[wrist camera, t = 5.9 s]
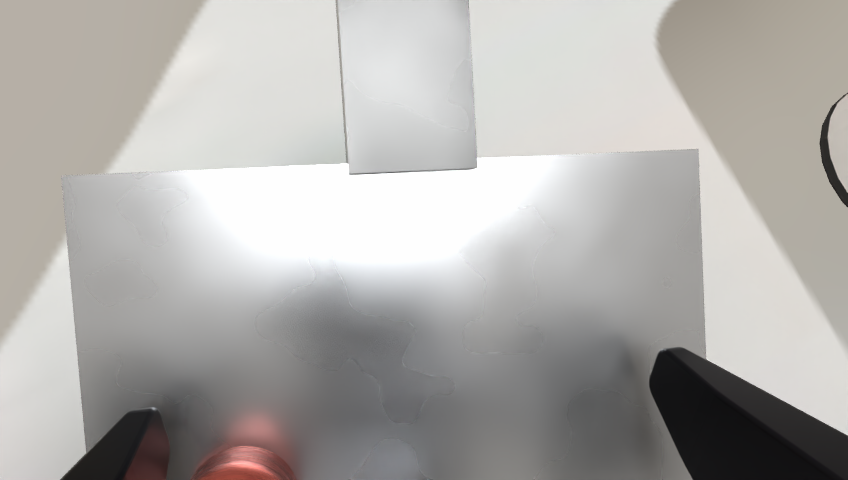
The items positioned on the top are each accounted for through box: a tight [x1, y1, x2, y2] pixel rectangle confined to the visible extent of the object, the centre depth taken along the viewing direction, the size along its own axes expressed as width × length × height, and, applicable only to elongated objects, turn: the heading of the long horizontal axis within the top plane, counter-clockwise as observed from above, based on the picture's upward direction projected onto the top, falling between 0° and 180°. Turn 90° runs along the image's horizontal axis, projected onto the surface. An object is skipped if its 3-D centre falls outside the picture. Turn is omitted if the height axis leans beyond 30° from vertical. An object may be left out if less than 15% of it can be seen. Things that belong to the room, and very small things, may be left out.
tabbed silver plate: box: [61, 0, 706, 480], centre depth 10 cm, size 15×12×2 cm
